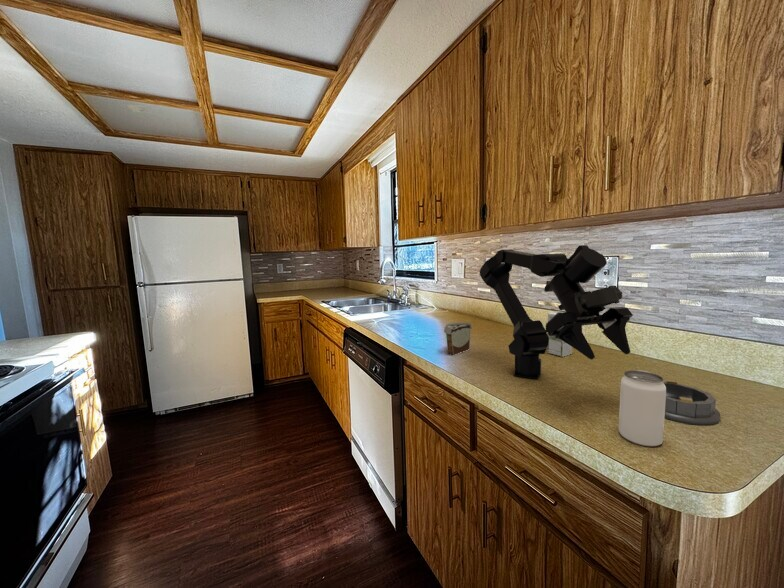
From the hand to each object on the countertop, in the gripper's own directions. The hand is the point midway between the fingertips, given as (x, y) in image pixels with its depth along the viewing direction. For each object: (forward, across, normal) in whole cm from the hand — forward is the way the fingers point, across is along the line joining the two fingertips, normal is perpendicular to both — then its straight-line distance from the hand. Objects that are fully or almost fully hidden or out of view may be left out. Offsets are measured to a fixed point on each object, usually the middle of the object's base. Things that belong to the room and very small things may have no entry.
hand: (610, 355), depth 64 cm
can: (+15, -2, +3) cm, 16 cm away
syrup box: (-16, +22, +37) cm, 46 cm away
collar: (+11, +16, +7) cm, 21 cm away
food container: (-26, -9, +49) cm, 56 cm away
